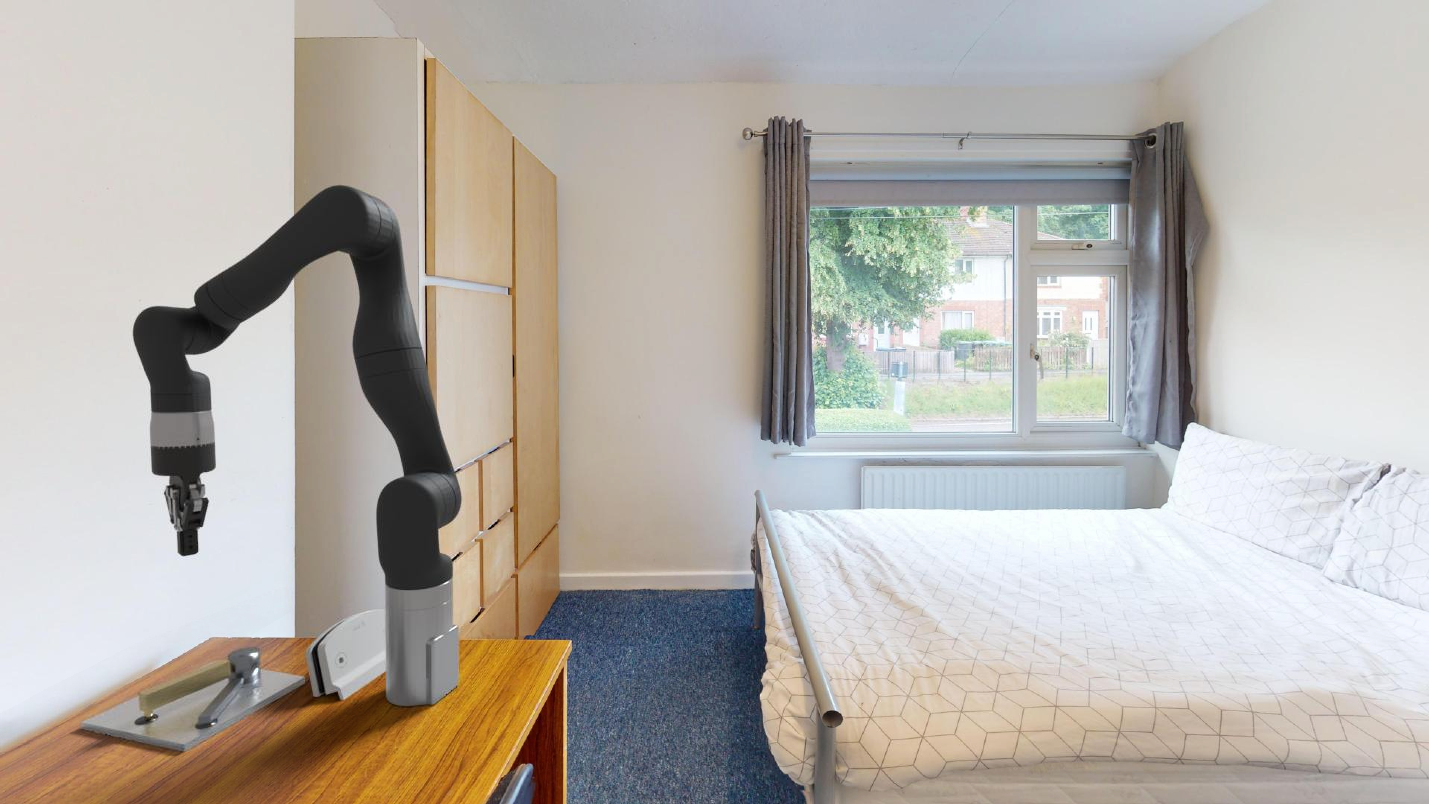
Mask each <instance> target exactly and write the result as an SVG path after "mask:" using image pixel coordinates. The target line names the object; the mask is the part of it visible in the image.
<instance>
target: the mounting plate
mask: <svg viewBox="0 0 1429 804" xmlns="http://www.w3.org/2000/svg"><path fill="white" fill-rule="evenodd" d="M227 660H228V661H230V673H231V677H229V678H227V679H225V680H222V681H220V682H218V683H215V684H213V685H211V686H208V687H206V688H204V689H201V690H199V691H197V692H194V693H192V694H189V695H187V696H185V697H182V698H180V699H178V700H175V701H173V702H171V703H168V704H166V705H164V706H161V707H159V708H157V709H154V710H153V718H151V719H147V720H145V719H144V711H141V710H139V695H137V696H135V697H133V698H131V699H129V700H126V701H124V702H122V703H120V704H117V705H115V706H113V707H111V708H109V709H107V710H104V711H102V712H100V713H98V714H96V715H94V716H92V717H89V718H87V719H85V720H83V721H80V722H81V723H80V725H81V727H80V728H81V729H80V730H82V729H85V730H84V731H87V730H90V731H89V732H91V731H96V732H98V733H97V734H100V733H102V735H105V734H107V735H106V736H109V735H111V737H115V738H119V737H122V738H121V739H123V738H125V740H129V741H132V740H134V742H136V743H137V742H138V743H142V744H146V745H151V746H156V747H161V748H166V749H169V750H174V751H178V752H184V753H185V752H187V751H189V750H191V749H192V748H194V747H196V746H197V745H199V744H201V743H203V742H204V741H206V740H208V739H209V738H212V737H213V736H215V735H217V734H218V733H220V732H222V731H224V730H225V729H227V728H229V727H231V726H233V725H235V724H236V723H238V722H240V721H241V720H243V719H245V718H247V717H249V716H250V715H252V714H254V713H256V712H257V711H259V710H261V709H263V708H264V707H266V706H268V705H270V704H271V703H273V702H275V701H277V700H278V699H280V698H282V697H283V696H286V695H287V694H289V693H291V692H293V691H294V690H296V689H298V688H299V687H301V686H304V684H306V676H302V675H296V674H291V673H287V672H280V671H274V670H268V669H263V668H262V667H261V666H262V665H261V663H262V662H261V648H260V647H256V646H251V647H250V646H249V647H247V646H246V647H242V648H239V649H235V650H233V651H231V652H230V653H228V654H227ZM217 661H218V660H214V661H211V662H210V663H207V664H205V665H203V666H201V667H198V668H196V669H195V670H197V669H199V668H202V667H204V666H207V665H209V664H212V663H214V662H217ZM96 732H95V733H96Z"/></svg>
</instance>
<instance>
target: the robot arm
mask: <svg viewBox="0 0 1429 804" xmlns="http://www.w3.org/2000/svg"><path fill="white" fill-rule="evenodd" d="M400 229H401V227H400V224H399V221H398V218H397V216H396V213H395V212H394V211H393V209H392V208H391V206H389V205H388V204H387V203H386V202H385V201H383V200H381V199H379V198H378V197H376V196H373V195H372V194H368V193H367V192H364V191H363V190H360V189H357V188H355V187H352V186H349V185H342V184H338V185H336V184H335V185H330V186H328V187H326V188H324V189H323V190H321V191H319V192H318V193H317V194H315V196H313V197H312V198H311V199H310V200H308V201H307V202H305V204H304V205H303V206H302V207H301V208H300V209H299V210H298V211H297V212H296V213H295V214H293V216H292V217H290V218H289V219H288V220H287V221H286V222H285V223H284V224H283V225H281V226H280V227H279V228H278V229H277V230H276V231H275V232H274V233H273V234H272V235H270V237H268V238H267V239H266V240H265V241H263V243H261V244H260V245H259V246H258V247H257V248H255V249H254V250H253V251H252V252H250V253H249V254H248V255H245V257H243V258H242V259H240V260H239V261H237V262H236V263H234V264H233V265H231V266H230V267H228V268H226V269H225V270H223V271H222V272H219V273H218V274H216V275H215V276H213V277H212V278H210V279H209V280H207V281H206V282H204V283H203V284H201V285H200V286H199V287H198V288H197V289H196V290H195V292H194V295H193V300H194V301H193V302H194V306H191V307H177V306H167V305H154V306H149V307H147V308H145V309H143V310H142V311H141V312H139V314H138V315H137V316H136V318H135V320H134V323H133V328H132V338H133V339H132V340H133V343H134V347H135V349H136V352H137V355H138V357H139V360H140V362H141V366H142V367H143V370H144V373H145V376H146V377H147V380H148V383H149V387H150V389H149V390H150V391H149V392H150V410H151V413H150V416H151V417H150V422H149V441H150V463H151V473H152V474H153V475H154V476H160V477H169V479H168V484H169V485H168V484H167V485H165V489H164V492H163V495H164V498H165V501H166V502H165V503H166V506H167V511H168V515H169V518H170V521H169V522H170V523H171V525H173V529H174V530H175V531H176V543H177V545H176V546H177V554H178V555H180V556H182V557H187V556H193V555H197V554H198V553H199V551H200V550H199V530H200V528H203V527H204V524H205V521H206V515H207V512H208V508H209V503H210V500H209V499H208V497H206V496H205V495H206V485H205V484H204V483H202V480H201V475H202V474H205V473H209V472H213V471H214V470H216V467H217V459H216V437H215V436H216V435H215V434H216V433H215V421H214V418H213V411H212V407H213V406H212V389H211V380H210V378H209V376H208V375H206V374H205V373H203V372H199V371H196V370H194V369H192V368H191V366H190V364H189V362H188V359H187V356H191V355H192V356H196V355H197V356H198V355H202V354H206V353H209V352H211V351H213V350H216V349H217V348H218V347H220V346H221V345H223V344H224V342H226V340H227V339H229V337H231V335H232V334H233V333H234V332H235V331H236V330H237V328H238V327H239V326H240V325H241V324H242V323H244V322H246V321H247V320H249V319H250V318H252V317H253V316H255V315H257V314H258V313H260V312H262V311H264V310H265V309H267V308H268V307H269V306H271V305H273V304H274V303H275V302H276V301H278V300H279V298H280V297H282V295H283V294H284V293H285V292H286V291H287V290H288V289H289V286H290V284H291V283H292V282H293V280H294V279H295V277H296V276H297V275H298V274H299V273H300V272H301V271H302V270H303V269H304V268H306V267H308V265H310V264H311V263H313V262H315V261H317V260H319V259H321V258H324V257H326V256H329V255H331V254H333V253H336V252H341V253H344V254H348V255H349V258H350V260H351V262H352V263H351V264H352V266H353V270H354V273H355V274H354V275H355V278H356V282H357V287H358V294H359V299H358V300H359V301H358V302H359V303H358V308H357V309H358V310H357V314H356V320H355V323H354V330H353V333H352V335H353V336H352V343H351V345H352V346H351V347H352V353H353V360H354V362H355V363H354V364H355V368H356V372H357V376H358V380H359V384H360V388H361V391H362V393H363V395H364V398H365V399H366V400H367V403H368V404H369V405H370V407H371V408H372V410H373V411H374V412H375V414H376V415H377V417H378V419H380V421H381V422H382V424H383V425H384V426H385V427H386V429H387V430H388V431H389V433H390V435H391V437H392V438H393V439H394V442H395V445H396V447H397V451H398V453H399V454H398V455H399V458H400V463H401V467H402V472H403V476H401V477H397V478H395V479H392V480H391V481H390V482H388V483H387V484H386V485H385V486H383V488H382V490H381V491H380V493H379V495H378V498H377V504H376V510H375V511H376V513H375V516H376V517H375V521H376V523H375V524H376V525H375V526H376V540H377V553H378V561H379V564H380V567H381V569H382V571H383V573H384V582H385V583H384V603H385V605H384V607H385V608H384V609H385V642H386V671H385V698H386V699H387V702H389V703H390V704H393V705H396V706H400V707H414V706H415V707H416V706H421V705H432V706H433V705H435V704H437V703H438V702H439V701H441V699H443V698H444V697H445V696H447V695H448V694H449V693H451V692H452V691H453V690H454V689H455V688H456V686H457V685H458V684H460V679H459V678H460V676H459V675H460V673H459V671H460V670H459V668H460V665H459V664H460V658H459V657H460V656H459V654H460V652H459V651H460V648H459V647H460V641H459V639H460V635H459V634H460V631H459V629H460V628H459V626H458V625H457V624H454V617H453V616H454V611H453V610H454V608H453V607H454V605H453V604H454V603H453V601H454V600H453V599H454V597H453V595H454V594H453V591H454V590H453V589H454V585H453V584H454V583H453V582H454V581H453V580H454V579H453V578H454V564H453V559H452V557H451V556H449V555H447V554H445V553H443V552H442V553H441V552H440V536H439V530H440V529H442V528H443V527H446V526H447V525H449V524H451V523H452V522H453V521H454V520H455V519H456V518H457V516H458V515H459V513H460V511H461V507H462V491H461V487H460V484H459V483H460V482H459V480H458V475H456V471H455V469H454V468H455V467H454V466H453V462H452V460H451V457H450V454H449V452H448V449H447V445H446V442H445V439H444V436H443V434H442V433H443V432H442V429H441V425H440V420H439V416H438V412H437V408H436V404H435V400H434V396H433V393H432V387H431V383H430V377H429V371H428V365H427V363H426V358H425V353H424V350H423V346H422V343H421V338H420V336H419V331H418V327H417V326H418V325H417V322H416V319H415V313H414V310H413V304H412V301H411V297H410V292H409V288H408V283H407V282H408V281H407V277H406V276H407V275H406V269H405V268H406V267H405V260H404V253H403V251H404V250H403V242H402V236H401V235H402V234H401V230H400ZM458 686H459V685H458ZM458 686H457V687H458ZM451 690H452V691H451ZM446 694H447V695H446Z"/></svg>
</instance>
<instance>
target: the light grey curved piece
mask: <svg viewBox="0 0 1429 804" xmlns="http://www.w3.org/2000/svg"><path fill="white" fill-rule="evenodd" d="M305 659H306V660H305V661H306V665H307V669H308V670H307V671H308V674H309V680H310V685H311V691H312V695H313V697H315V698H316V697H320V696H322V695H324V694H325V695H330V694H333V693H336V692H337V693H338V697H339V700H340V701H345V699H346V700H347V698H349V697H350V696H352V695H353V694H354V693H356V692H357V691H359V690H360V689H362V688H364V687H365V686H366V685H368V684H369V683H371V682H373V680H375V679H377V678H378V677H380V676H381V675H382V674H384V673H386V642H385V608H383V609H381V608H380V609H370V610H366V611H362V612H359V613H356V614H352V615H350V616H348V617H345V618H343V619H342V620H339V621H338V622H336V623H334V624H333V625H332V626H330V627H329V628H327V629H326V630H325V631H323V632H322V633H321V634H320V635H318V636H317V637H316V638H315V639H314V640H313V641H312V643H311V644H310V645H309V646H308V647H307V648H306V650H305Z"/></svg>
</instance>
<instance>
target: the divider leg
mask: <svg viewBox="0 0 1429 804" xmlns="http://www.w3.org/2000/svg"><path fill="white" fill-rule="evenodd" d="M216 661H217V662H214V663H212V664H209V663H208V664H209V665H207V664H206V665H207V666H205V665H203V666H204V667H203V666H201V667H202V668H200V667H198V668H199V669H198V668H196V669H197V670H196V669H194V670H192V671H190V672H187V673H185V674H183V675H180V676H179V675H178V676H177V677H174V678H171V679H169V680H167V681H164V682H162V683H160V684H157V685H154V686H152V687H150V688H147V689H145V690H141V691H139V692H138V696H139V710H141V711H144V719H145V720H147V719H151V718H153V710H154V709H157V708H159V707H161V706H164V705H166V704H168V703H171V702H173V701H175V700H178V699H180V698H182V697H185V696H187V695H189V694H192V693H194V692H197V691H199V690H201V689H204V688H206V687H208V686H211V685H213V684H215V683H218V682H220V681H222V680H225V679H227V678H229V677H231V673H230V661H228V659H224V658H222V659H219V660H216Z"/></svg>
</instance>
